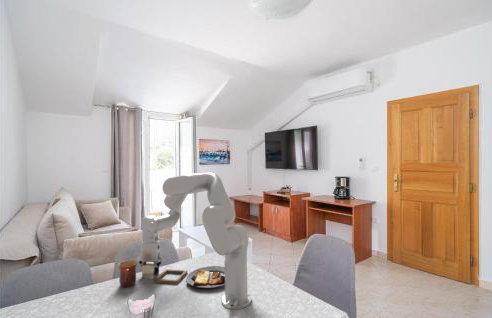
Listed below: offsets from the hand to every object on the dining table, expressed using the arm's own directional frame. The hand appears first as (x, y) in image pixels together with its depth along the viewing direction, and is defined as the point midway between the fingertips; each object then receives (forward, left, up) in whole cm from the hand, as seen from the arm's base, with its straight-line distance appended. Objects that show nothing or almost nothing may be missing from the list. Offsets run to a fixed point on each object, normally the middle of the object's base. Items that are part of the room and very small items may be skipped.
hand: (150, 273), depth 135 cm
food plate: (0, -33, -2) cm, 33 cm away
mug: (-12, +5, -1) cm, 13 cm away
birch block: (0, 0, -1) cm, 1 cm away
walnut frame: (-1, -12, -1) cm, 12 cm away
